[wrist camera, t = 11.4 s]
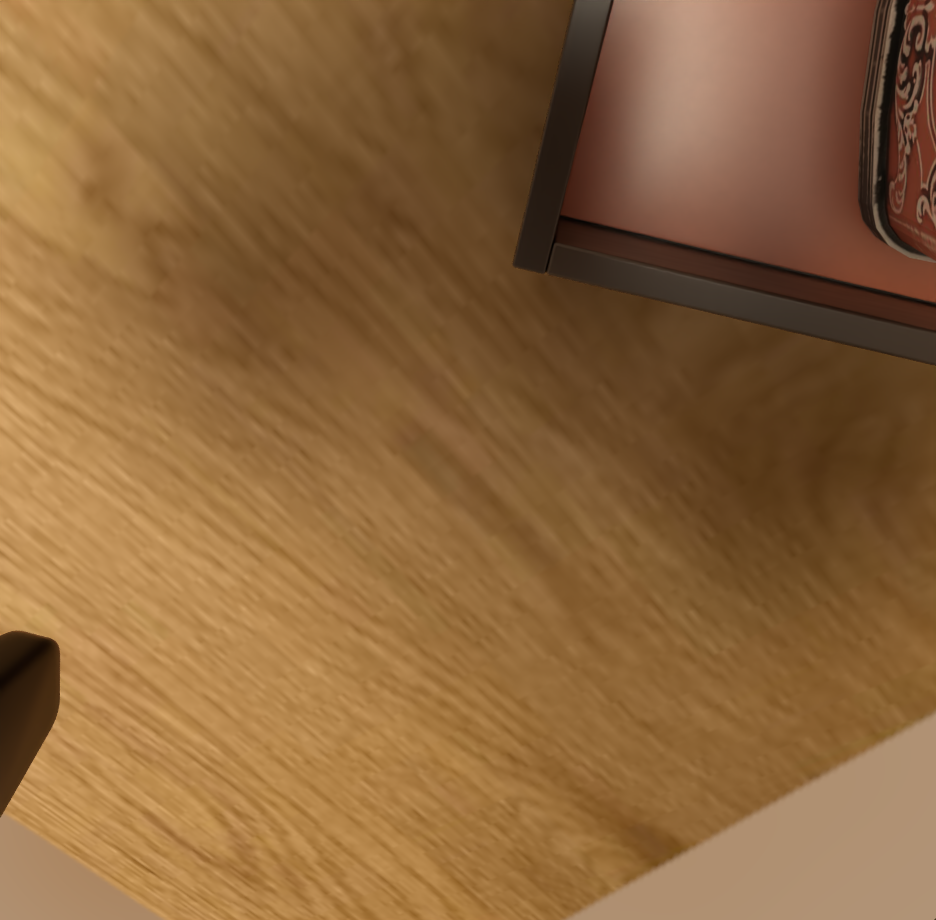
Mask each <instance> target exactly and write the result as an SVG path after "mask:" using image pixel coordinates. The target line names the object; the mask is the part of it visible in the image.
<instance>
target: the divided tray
mask: <svg viewBox="0 0 936 920" xmlns="http://www.w3.org/2000/svg"><path fill="white" fill-rule="evenodd" d="M876 4H877V0H573V4H572V9H571V13H570V17H569V22H568V26H567V30H566V35H565V39H564V43H563V48H562V52H561V56H560V61H559V65H558V69H557V74H556V78H555V82H554V87H553V91H552V95H551V99H550V104H549V108H548V112H547V117H546V121H545V125H544V130H543V134H542V138H541V143H540V147H539V151H538V156H537V160H536V164H535V169H534V173H533V177H532V182H531V186H530V190H529V195H528V199H527V203H526V208H525V212H524V216H523V220H522V225H521V229H520V233H519V238H518V242H517V246H516V251H515V255H514V259H513V267H515V268H519V269H523V270H528V271H532V272H536V273H540V274H544V273H545V272H546V273H547V274H548V275H550V276H555V277H559V278H563V279H567V280H572V281H576V282H580V283H584V284H589V285H593V286H597V287H602V288H606V289H610V290H614V291H619V292H623V293H627V294H631V295H636V296H640V297H644V298H648V299H653V300H657V301H661V302H666V303H670V304H674V305H678V306H683V307H687V308H691V309H695V310H700V311H704V312H708V313H713V314H717V315H721V316H725V317H730V318H734V319H738V320H742V321H747V322H751V323H755V324H759V325H764V326H768V327H772V328H777V329H781V330H785V331H789V332H794V333H798V334H802V335H806V336H811V337H815V338H819V339H824V340H828V341H832V342H836V343H841V344H845V345H849V346H853V347H858V348H862V349H866V350H870V351H875V352H879V353H883V354H888V355H892V356H896V357H900V358H905V359H909V360H913V361H917V362H922V363H926V364H930V365H935V366H936V263H934V262H928V261H923V260H918V259H913V258H909V257H907V256H906V255H904V254H902V253H901V252H899V251H897V250H896V249H894V248H892V247H891V246H889V245H887V244H886V243H884V242H883V241H881V240H880V239H878V238H876V237H875V236H874V235H873V234H872V232H871V231H870V230H869V228H868V227H867V225H866V224H865V223H864V221H863V220H862V217H861V212H860V207H859V202H858V178H859V138H860V110H861V103H862V96H863V89H864V81H865V74H866V67H867V60H868V53H869V46H870V39H871V32H872V25H873V18H874V11H875V7H876Z"/></svg>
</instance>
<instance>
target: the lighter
mask: <svg viewBox="0 0 936 920" xmlns="http://www.w3.org/2000/svg"><path fill="white" fill-rule="evenodd" d="M858 202H859V207H860V212H861V217H862V220H863V221H864V223H865V224H866V225H867V227H868V228H869V230H870V231H871V232H872V234H873V235H874V236H875V237H876V238H878V239H880V240H881V241H883V242H884V243H886V244H887V245H889V246H891V247H892V248H894V249H896V250H897V251H899V252H901V253H902V254H904V255H906V256H907V257H909V258H913V259H918V260H923V261H928V262H934V263H936V0H877V4H876V7H875V11H874V18H873V25H872V32H871V39H870V46H869V53H868V60H867V67H866V74H865V81H864V89H863V96H862V103H861V110H860V138H859V178H858Z"/></svg>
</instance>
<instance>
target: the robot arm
mask: <svg viewBox="0 0 936 920" xmlns="http://www.w3.org/2000/svg"><path fill="white" fill-rule="evenodd" d="M59 702H60V650H59V646H58V644H57V642H56V641H54V640H53V639H51V638H47V637H43V636H39V635H36V634H32V633H28V632H24V631H12V632H8V633H5V634H3V635H1V636H0V817H1V816H2V814H3V812H4V810H5V809H6V807H7V805H8V803H9V802H10V800H11V798H12V796H13V795H14V793H15V791H16V789H17V788H18V786H19V784H20V782H21V781H22V779H23V777H24V775H25V774H26V772H27V770H28V768H29V767H30V765H31V763H32V761H33V760H34V758H35V756H36V754H37V753H38V751H39V749H40V747H41V746H42V744H43V742H44V740H45V739H46V737H47V735H48V733H49V731H50V730H51V728H52V726H53V724H54V721H55V719H56V716H57V713H58V709H59ZM935 920H936V919H935Z"/></svg>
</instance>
